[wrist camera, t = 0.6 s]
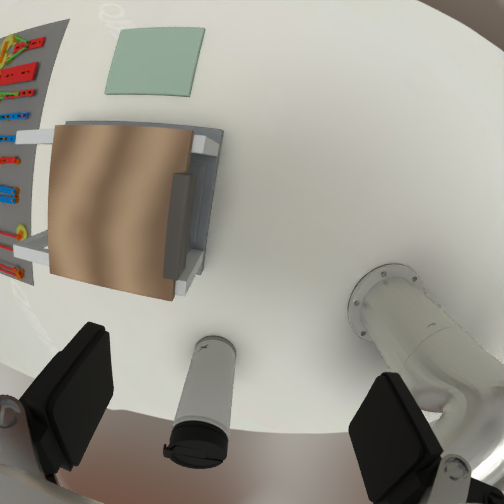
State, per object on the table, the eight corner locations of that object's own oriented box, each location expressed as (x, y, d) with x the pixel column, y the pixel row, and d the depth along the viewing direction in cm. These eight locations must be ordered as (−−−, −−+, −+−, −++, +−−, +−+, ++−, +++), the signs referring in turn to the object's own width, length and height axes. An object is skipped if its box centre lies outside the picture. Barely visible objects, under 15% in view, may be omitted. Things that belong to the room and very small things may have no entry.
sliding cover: (206, 133, 23) (197, 127, 19) (184, 298, 27) (174, 319, 23) (60, 126, 22) (36, 123, 19) (54, 270, 27) (33, 283, 23)
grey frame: (223, 131, 34) (209, 115, 23) (202, 269, 39) (183, 312, 28) (73, 122, 33) (19, 115, 22) (64, 243, 38) (15, 270, 27)
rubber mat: (205, 30, 30) (204, 27, 29) (189, 96, 33) (188, 95, 32) (123, 31, 29) (121, 29, 29) (106, 94, 32) (104, 93, 32)
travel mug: (195, 330, 42) (162, 436, 23) (239, 340, 42) (231, 450, 23) (190, 362, 44) (162, 466, 25) (231, 371, 44) (222, 478, 25)
